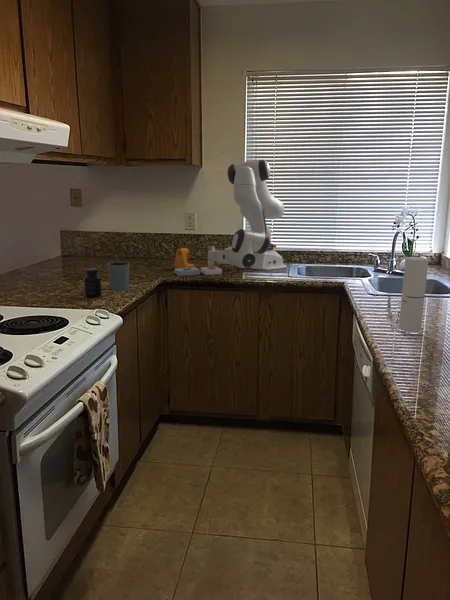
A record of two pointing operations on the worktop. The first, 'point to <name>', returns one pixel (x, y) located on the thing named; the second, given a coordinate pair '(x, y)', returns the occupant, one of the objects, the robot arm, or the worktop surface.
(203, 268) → the tray
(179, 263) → the bracket
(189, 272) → the block
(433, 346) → the worktop surface
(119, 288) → the blue cup
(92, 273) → the supplement bottle
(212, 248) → the dowel
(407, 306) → the cylindrical container
